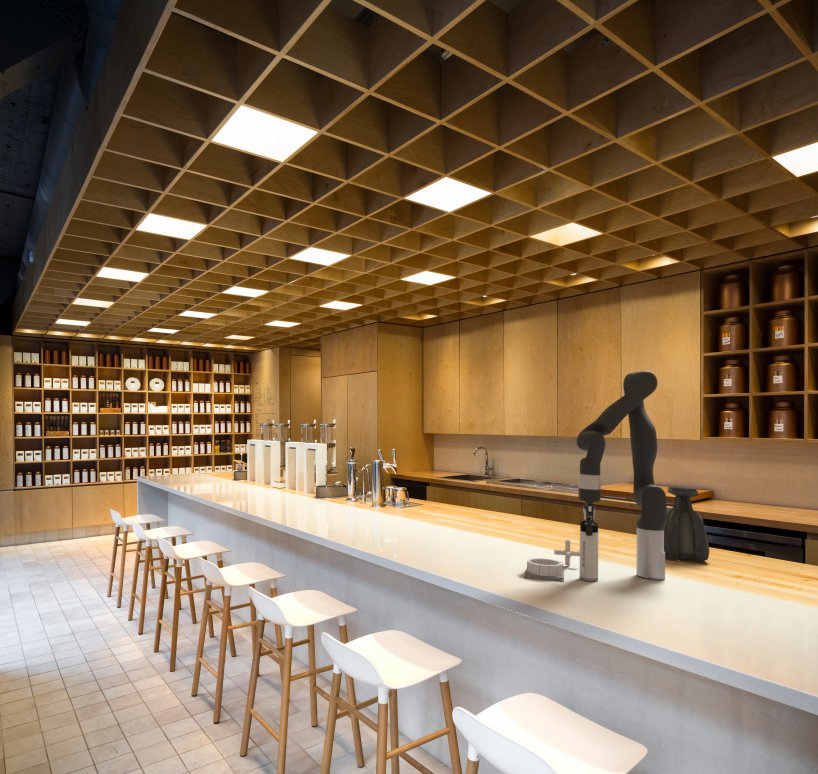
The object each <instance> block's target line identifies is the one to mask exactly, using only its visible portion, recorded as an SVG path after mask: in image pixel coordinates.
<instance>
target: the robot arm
mask: <svg viewBox="0 0 818 774" xmlns="http://www.w3.org/2000/svg"><path fill="white" fill-rule="evenodd" d="M622 383H623V385H622V387H623V393H624V394H623V396H621V397H620V398H619V399H617V400H616V401H614V402H613V403H611V404H610V405H609V406H607V408H605V409H604V410H603V411H602V412H601V413H600V415H598V417H597V418H596V419H595V420H594V421H593V422H591V423H590V424H588V425H587V426H586V427H584V429H582V430H581V431H580V432H579V433H578V435H577V438H576V442H575V443H576V446H577V447H578V449H580V450H582V451H586V452H587V453H586V455H585V457H583V458H581V459H580V461H579V476H578V477H579V478H578V492H577V493H578V495H577V496H578V500H579V501H581V502H584V505H583V506H582V508H583V510H582V511H583V518H584V519H583V521H584V520H586V521H585V523H586V535H587V536H592V532H593V523H594V522H595V521H594V520H595V518H596V517H595V513H596V506H594V503H599V502H601V498H602V497H601V494H602V493H601V490H602V487H601V485H602V482H601V481H602V480H601V463H602V459H603V456H604V453H605V448H606V439H605V436H608V435H610V434H612V433H613V432H614V430H615V429H616V428H617V427H618V426H619V425H620V424H621V422H622V421H623V420H624V419H625V418H627V416H628V426H629V437H630V449H631V459H632V468H633V469H632V470H633V487H632V489H633V490H632V491H633V494H632V496H633V500H634V502H635V504H636V505H637V506H638V507H640V508H641V514H640V517H639V518H638V519H637V521H636V576H637V575H638V576H637V577H639V576H641V577H640V578H642V577H645V578H644V579H647V578H650V579H649V580H666V557H665V552H664V524H665V522H666V512H667V510H668V509H667V508H668V506H667V505H668V503H667V502H668V500H667V494H666V491H665V490H664V489H663V488H662V487H660V486H659V485H655V478H654V465H655V462H656V457H657V454H658V437H657V430H656V427H655V425H654V423H653V422H652V420H651V418H650V417H649V415H648V414H647V411H646V409H645V402H644V400H645V399H647V398H648V397H650V396H651V395H652V394H653V393H654V392H655V391H656V389H657V387H658V383H659V382H658V378H657V376H656V375H655V373H654V372H652V371H650V370H640V371H634V372H631V373H630V372H629V373H628V374H626V375H625V377H624V379H623V382H622ZM651 578H652V579H651Z"/></svg>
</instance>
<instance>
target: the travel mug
mask: <svg viewBox="0 0 818 774" xmlns="http://www.w3.org/2000/svg"><path fill="white" fill-rule="evenodd" d="M585 521H586V520H584V519H583V521H580V522H579V526H580V527H579V552H580V556H579V574H578V575H579V580H581V579H582V580H581V581H583V580H587V581H586V582H588V581H596V582H598V581H599V533H600V532H599V523H597V522H595V521H594V523H593V532H592V536H587V535H586V523H585ZM597 580H598V581H597Z"/></svg>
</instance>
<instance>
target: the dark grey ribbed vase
mask: <svg viewBox="0 0 818 774" xmlns="http://www.w3.org/2000/svg"><path fill="white" fill-rule="evenodd" d="M697 490H698V488H695V487H688V486H668V487H667V493H669V494H672V495H673V496H674V497H675V498H674V501H673V504H672V507H669V508H668V509H667V512H666V522H665V524H664V552H665V559H666V558H667V559H668V560H670V561H677V560H680V562H681V561H682V562H690V561H693V563H703V562H706V561H708V560H709V556H710V546H709V540H708V535H707V533H708V532H707V529H706V526H705V524H704V518H703V517H702V515H701V514H700V513H699V512H697V511H696V510H694V508H693V505H692V500H691V498H692V497H698V496H699V491H697Z"/></svg>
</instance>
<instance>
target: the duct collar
mask: <svg viewBox="0 0 818 774" xmlns="http://www.w3.org/2000/svg"><path fill="white" fill-rule="evenodd" d="M563 567H564V563H563V562H562V561H560V560H557V559H551V558H543V557H540V558H539V557H536V558H535V557H534V558H532V557H531V558H528V559H527V560H526V569H525V572H524V578H525V577H529V578H528V579H533V578H540V579H539V580H544V579H551V580H550V581H554V580H563V581H562V582H565V580H564V579H565V577H564V576H565V572H564V571H565V569H563Z"/></svg>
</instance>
